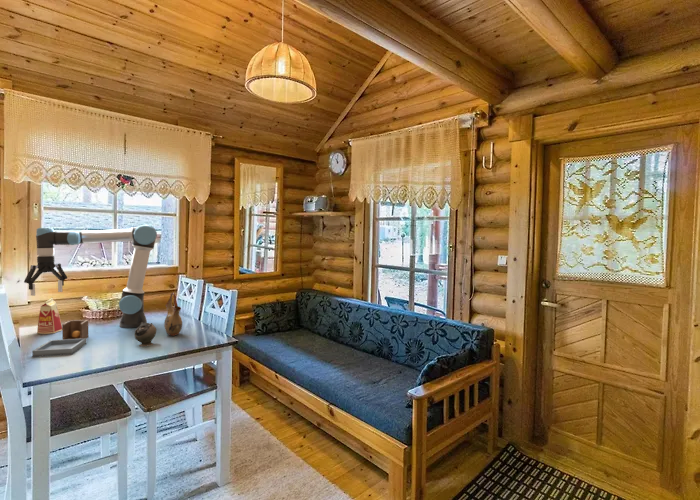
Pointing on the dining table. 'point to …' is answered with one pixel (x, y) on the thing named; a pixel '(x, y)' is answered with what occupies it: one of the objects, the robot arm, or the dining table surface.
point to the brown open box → (75, 329)
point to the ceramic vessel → (173, 317)
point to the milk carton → (49, 318)
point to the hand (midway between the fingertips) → (47, 293)
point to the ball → (76, 334)
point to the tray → (59, 347)
